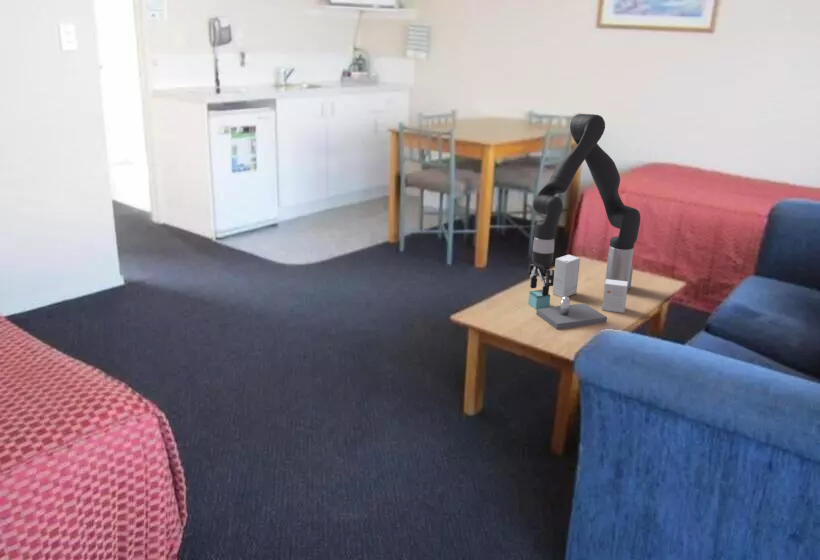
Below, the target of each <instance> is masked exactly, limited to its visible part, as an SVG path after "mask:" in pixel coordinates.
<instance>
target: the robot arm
mask: <svg viewBox="0 0 820 560" xmlns="http://www.w3.org/2000/svg"><path fill="white" fill-rule="evenodd" d="M569 129H570V135H571V136H572V138H573V140H574V141H575V144H576V146H575V147H574V148H573V149H572V150H571V151H570V152H568V154H566V156H565V157H563V158H562V160H560V162H559V163H558V164H557V166H556V167H555V168H554V171H553V172H552V175H551V177H550V179H549V180H548V181H547V182H546V183H545V184H544V186H543V187H542V188H541V189H540V190H539V191H538V192H537V193H536V195H535V197H534V199H533V202H532V207H533V209H534V212H536V213H539V214H541V215H545V219H544V220H543V219H541V220H538V221H537V222H536V223H535V229H534V239H533V242H532V252H531V259H529V263H528V269H527V275H528V276H529V278H530V285H529V287H530V289H536V288H537V283H538V277H539V279H540V281H541V283H542V289H541V290H542V295H543V296H548V294H549V292H550V291H549V290H550V287H553V283H554V271H555V269H550V265H551V264H553V262H554V255H555V254H554V252H555V236H556V234H555V233H556V229H557V228H556V227H557V225H558V222H559V220H560V217H561V214H562V212H563V207H564V206H563V200H562V199H561V198H560V197H558V196H556V195H557V194H564V193H565V192H567V190H568V188H569V186H570V185H571V183H572V181H573V180H574V177H575V175H576V174H577V173H578V172H577V171H578V170H579V168H580V167H581V166H582V164H583V163H584V161H585V163H586V164H587V167H588V169H589V172H590V174H591V177H592V179H593V182H594V184H595V186H596V188H597V191H598V193H599V196H600V198H601V200H602V203H603V206H604V209H605V213H606V216H607V220H608V222H609V223H610V225H611V226H612V227H614V228H616V229H618V230H619V233H618V236H613V237H611V238H610V239H609V246H608V255H607V262H606V271H605V278H604V282H605V281H606V279H610V280H619V281H628V286H627V291H628V290H629V289H631V288H632V279H633V273H634V265H632V264H633V263H632V262H633V256H634V250H635V249H634V248H635V244H636V242H637V239H638V236H639V231H640V224H641V213H640V211H639V210H638V209H637V208H634V207H631V206H629V205H626V204H624V203H623V201H622V199H621V195H620V194H619V189H620V183H621V176H620V173H619V171H618V168H617V166H616V164H615V161H614V160H613V158H611V156H610V155H609V154H608V153H607V152H606V151H605V150H604V149H603V148H602V147H600V145H599V144H598V143H599V141H600V140H601V138H602V137H603V134H604V132H605V129H606V122H605V119H604V118H603V116H601V115H599V114H593V113H592V114H591V113H579V114H576V115H574V116H573V117H572V118H571V120H570V123H569ZM604 287H605V284H604Z"/></svg>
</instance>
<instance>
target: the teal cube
mask: <svg viewBox="0 0 820 560" xmlns="http://www.w3.org/2000/svg"><path fill="white" fill-rule="evenodd" d="M528 293H529V294H528V303H527V304H528V305H530V306H531V308H533V309H534V310H537V309H542V308H549V307H550V304H551V303H550V300H551V294H549V293H548V296H543V295H542V289H539V290H531V291H529V292H528Z"/></svg>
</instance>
